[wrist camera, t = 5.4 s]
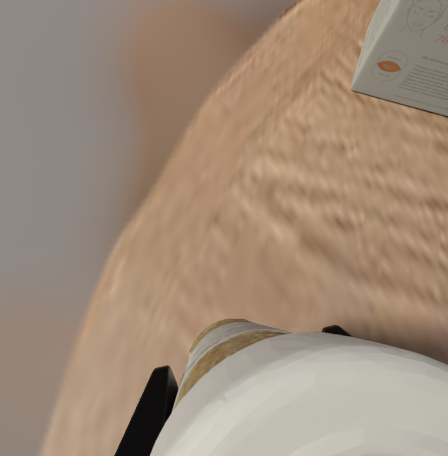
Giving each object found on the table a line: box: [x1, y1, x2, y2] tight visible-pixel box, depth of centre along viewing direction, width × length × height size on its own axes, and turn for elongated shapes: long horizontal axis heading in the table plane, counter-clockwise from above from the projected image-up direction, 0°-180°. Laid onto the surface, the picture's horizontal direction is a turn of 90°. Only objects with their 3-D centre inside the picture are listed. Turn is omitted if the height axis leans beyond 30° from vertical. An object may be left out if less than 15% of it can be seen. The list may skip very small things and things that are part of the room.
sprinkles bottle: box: [150, 319, 448, 456], centre depth 9 cm, size 5×5×13 cm
